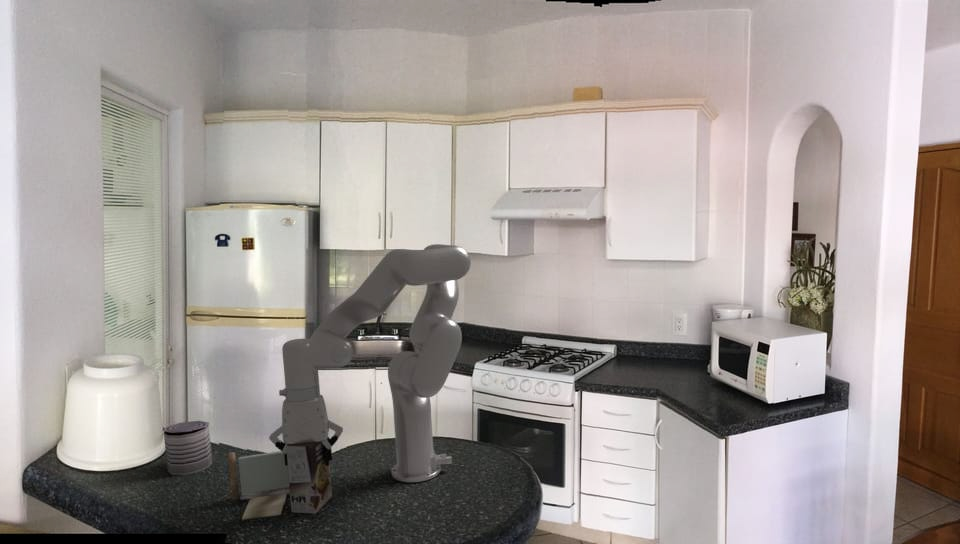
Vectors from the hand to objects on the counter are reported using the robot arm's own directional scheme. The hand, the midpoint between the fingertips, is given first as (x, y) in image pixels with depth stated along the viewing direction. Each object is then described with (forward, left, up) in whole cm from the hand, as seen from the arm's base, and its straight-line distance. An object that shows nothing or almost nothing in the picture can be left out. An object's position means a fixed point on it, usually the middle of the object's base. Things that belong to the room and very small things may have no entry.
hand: (309, 465), depth 149 cm
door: (+11, -9, -9) cm, 17 cm away
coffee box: (0, 0, -10) cm, 10 cm away
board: (+11, -2, -10) cm, 15 cm away
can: (+36, -32, -10) cm, 49 cm away
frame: (+11, -8, -10) cm, 17 cm away
